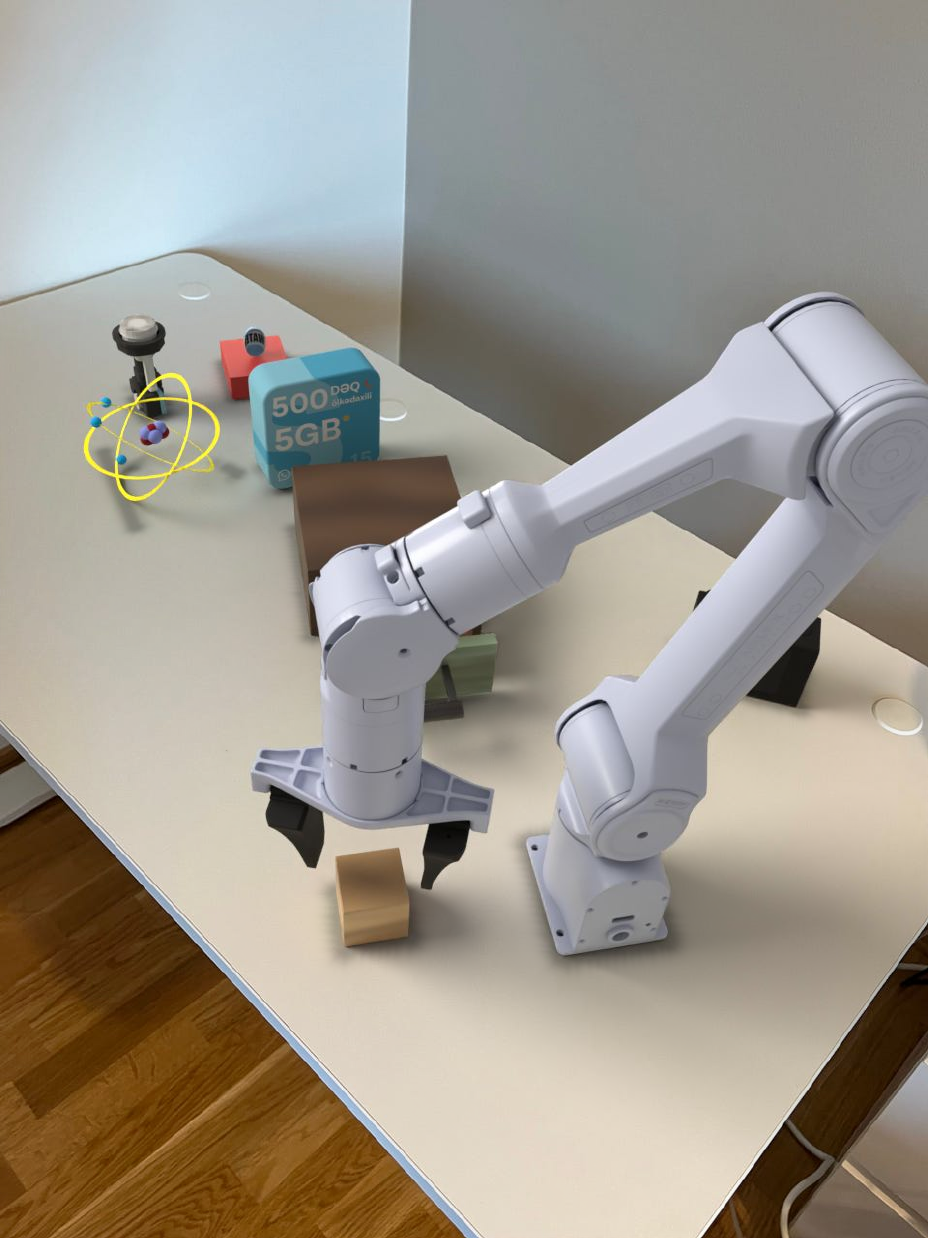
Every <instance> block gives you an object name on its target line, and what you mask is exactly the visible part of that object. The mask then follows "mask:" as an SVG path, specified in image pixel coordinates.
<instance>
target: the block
mask: <svg viewBox="0 0 928 1238" xmlns="http://www.w3.org/2000/svg"><path fill="white" fill-rule="evenodd" d="M334 867H335V892H336V900H337V907H338V913H339V920H340V921H339V922H340V929H341V935H342V941H343V946H344V947H350V946H357V945H364V944H369V943H370V944H371V943H376V942H382V941H389V940H395V939H396V940H397V939H403V938H407V937H409V925H410V924H409V922H410V904H411V903H410V898H409V891H408V886H407V881H406V877H405V871H404V867H403V860H402V855H401V849H400V847H393V848H387V849H386V848H385V849H378V850H371V851H363V852H357V853H350V854H349V853H348V854H343V855H336V856H335V857H334Z"/></svg>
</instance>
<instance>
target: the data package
mask: <svg viewBox="0 0 928 1238" xmlns="http://www.w3.org/2000/svg"><path fill="white" fill-rule="evenodd" d="M248 382H249V394H250V398H249V403H250V416H251V426H252V439H253V449H254V458H255V461H256V462H257V464H258V466H259V468H260V469H261V471H262V474H263V475H264V477H265V478H266V480H267V482H268V483H269V484H270V485H271V487H273V488H274V489H278V490H284V489H285V490H286V489H289V488H293V486H292V470H291V467H292V466H301V465H316V464H330V463H344V462H358V461H372V460H379V458H380V448H381V447H380V445H381V444H380V443H381V441H380V440H381V439H380V438H381V437H380V435H381V377H380V374H379V372H378V371H377V370H376V369H375V367H374V366H373V365H372V363H371V362H370V360H368V358H367V356H366V355H365V354H364V353H363V352H362V351H361V350H360V349H359V348H356V347H352V346H351V347H344V348H339V349H333V350H330V351H329V350H328V351H322V352H319V353H313V354H307V355H302V356H296V357H290V358H287V359H285V360H280V361H274V362H269V363H264V364H260V365H258V366H257V367H255V368H254V369H253V370H252V372H251V373H250V375H249V380H248Z"/></svg>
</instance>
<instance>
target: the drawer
mask: <svg viewBox="0 0 928 1238" xmlns="http://www.w3.org/2000/svg"><path fill="white" fill-rule="evenodd" d="M482 628H483V623H482V624H480V625H478V626H476V627H474V628H473V629H471V630H469V631H467V632H465V633H463V634H461V635H460V636H459V638H458V639H459V644H457V645H456V646H455V648H456V649H455V650H453V651H451V652H450V653H448V654H447V655H446V656H445V657H444V658H443V659H442V661H441V664H440V666H439V668H438V670H437V671H436V673H435V674H434V675H433V676H432V677H431V678H430V680H428V681H427V682H426V690H425V701H426V700H434V699H442V698H447V699H448V701H441V702H434V703H433V702H431V703H425V705H424V722H423V724H426V723H435V722H443V721H451V720H460V719H463V718H464V717H465V708H464V704H463V703H464V702H463V701H462V700H461V699H460V700H459V699H458V698H459V696H468V695H478V694H486V693H492V692H493V686H494V678H495V677H494V676H495V668H496V660H497V652H498V639H497V636H496V634H495V632H491V633H484V634H483V633H482Z"/></svg>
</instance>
